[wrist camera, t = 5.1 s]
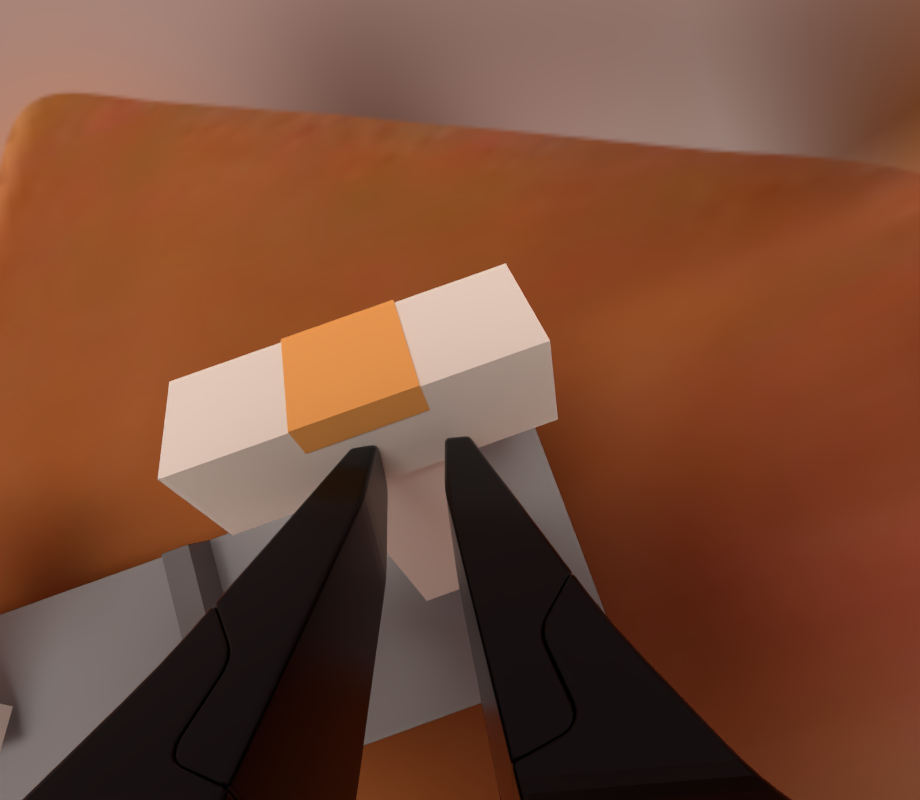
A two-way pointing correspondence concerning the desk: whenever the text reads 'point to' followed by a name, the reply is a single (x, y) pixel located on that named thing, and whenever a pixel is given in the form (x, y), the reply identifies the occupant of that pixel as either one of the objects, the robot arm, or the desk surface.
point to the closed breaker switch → (4, 720)
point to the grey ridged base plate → (197, 590)
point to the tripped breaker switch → (364, 412)
